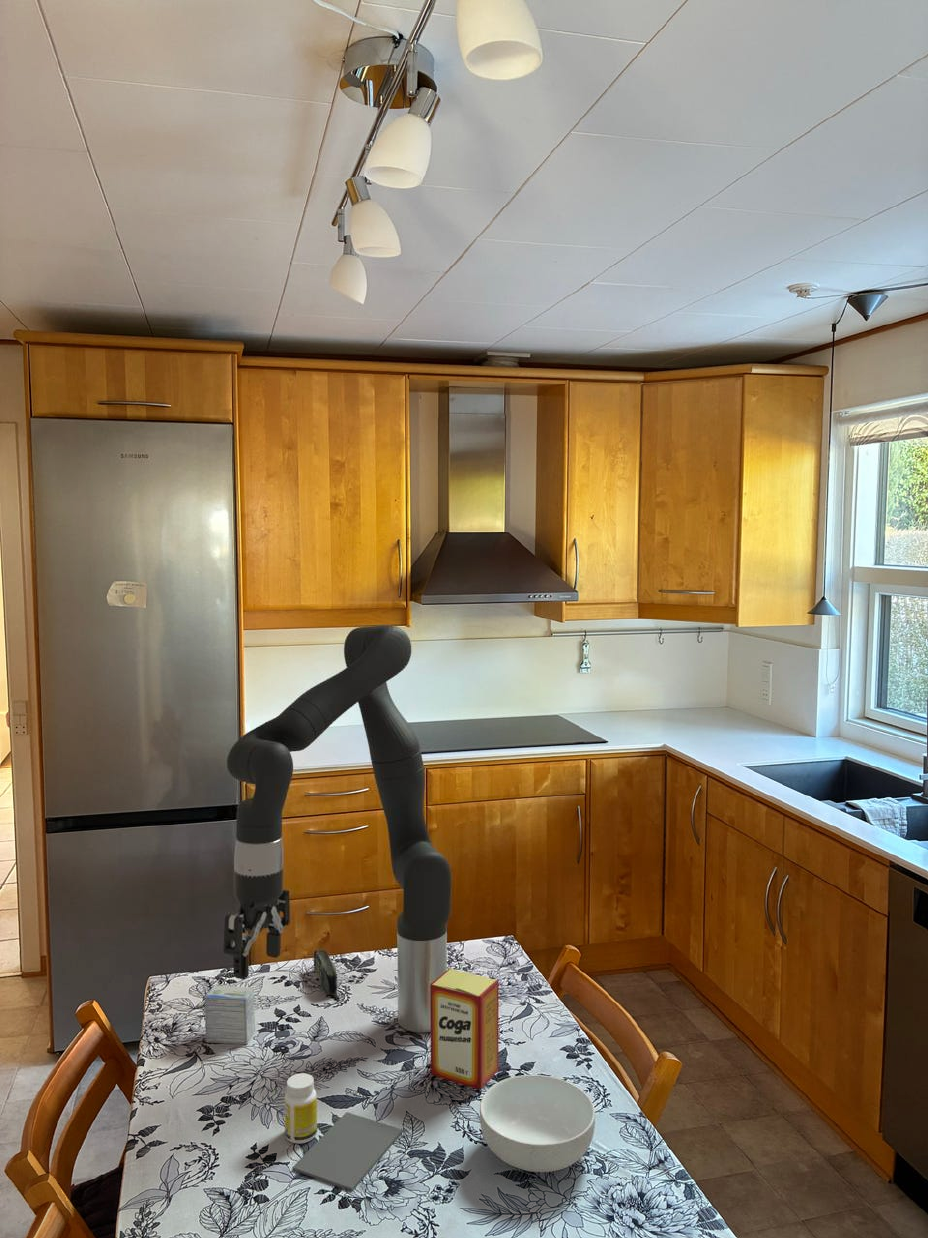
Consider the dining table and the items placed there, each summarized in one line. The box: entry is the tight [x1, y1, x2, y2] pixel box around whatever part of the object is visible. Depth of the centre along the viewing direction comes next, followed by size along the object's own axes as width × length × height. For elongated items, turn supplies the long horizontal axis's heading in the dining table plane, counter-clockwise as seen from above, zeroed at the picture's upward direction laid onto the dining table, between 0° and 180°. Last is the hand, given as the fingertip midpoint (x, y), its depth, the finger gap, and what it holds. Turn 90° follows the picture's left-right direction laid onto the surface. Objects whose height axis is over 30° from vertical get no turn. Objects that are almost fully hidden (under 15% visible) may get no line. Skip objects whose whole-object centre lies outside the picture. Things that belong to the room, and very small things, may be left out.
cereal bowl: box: [479, 1074, 596, 1173], centre depth 129 cm, size 17×17×7 cm
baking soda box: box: [430, 968, 500, 1091], centre depth 149 cm, size 10×6×16 cm
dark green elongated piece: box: [313, 949, 340, 1001], centre depth 181 cm, size 5×3×15 cm
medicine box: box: [203, 985, 256, 1045], centre depth 161 cm, size 8×4×9 cm, turn 84°
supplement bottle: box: [284, 1072, 318, 1145], centre depth 133 cm, size 5×5×8 cm
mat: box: [291, 1111, 404, 1192], centre depth 130 cm, size 10×14×1 cm
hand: (257, 966), depth 140 cm, fingers open, 8 cm apart
